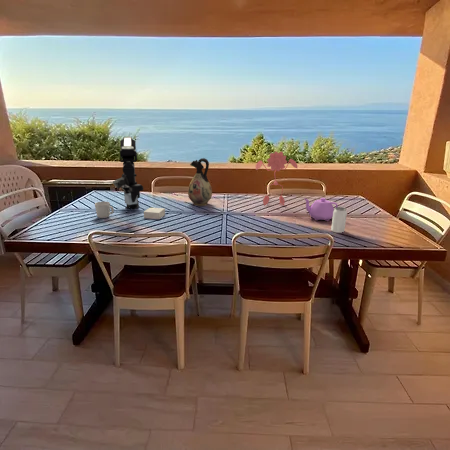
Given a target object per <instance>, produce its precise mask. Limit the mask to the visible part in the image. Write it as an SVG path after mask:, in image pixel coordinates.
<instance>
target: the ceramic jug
mask: <svg viewBox="0 0 450 450" xmlns="http://www.w3.org/2000/svg"><path fill="white" fill-rule="evenodd" d="M203 162H204V163H205V167H204V165H203ZM189 165H190V166H191V167H192V168H193V167H194V168H195V170H196V171H195V172H196V173H195V175H194V176H192V179H191V181H190V183H189V186H188V189H187V194H188V199H189V200H190V201H191V202H192V206H196V207H201V206H203V207H204V206H208V203H209V201H211V199H212V196H213V189H212V186H211V183H210V182H209V179H208V175H207V174H208V170H209V166H210V162H209V161H208V159H207V158H204V157H203V158H200V159H195V160H193V161H191V163H190V164H189ZM204 168H205V169H204ZM203 170H204V172H203Z"/></svg>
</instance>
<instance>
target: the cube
mask: <svg viewBox="0 0 450 450" xmlns="http://www.w3.org/2000/svg"><path fill="white" fill-rule="evenodd" d="M123 195H124V196H123V197H124V204H128V205H132V204H138V201H139V199H138V200H137V197H136V200H135V202H132V199H131V194H130V193H127V194H124V193H123Z"/></svg>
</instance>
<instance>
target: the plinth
mask: <svg viewBox="0 0 450 450" xmlns="http://www.w3.org/2000/svg"><path fill="white" fill-rule="evenodd" d="M165 215H166V208H163V207H161V208H160V207H149V208H147V209H146V210H144V211H143V218H144V219H153V220H160V219H162V218H163V217H164V216H165Z"/></svg>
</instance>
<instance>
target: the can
mask: <svg viewBox="0 0 450 450" xmlns="http://www.w3.org/2000/svg"><path fill="white" fill-rule="evenodd" d="M347 213H348V212H347V208H344V207H341V206H340V207H339V206H338V207H336V206H335V207H334V211H333V217H332V218H331V219H332V221H331V228H330V229H331V232H333V233H336V234H343V233H344V232H345V229H346V222H347ZM342 232H343V233H342Z"/></svg>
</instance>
